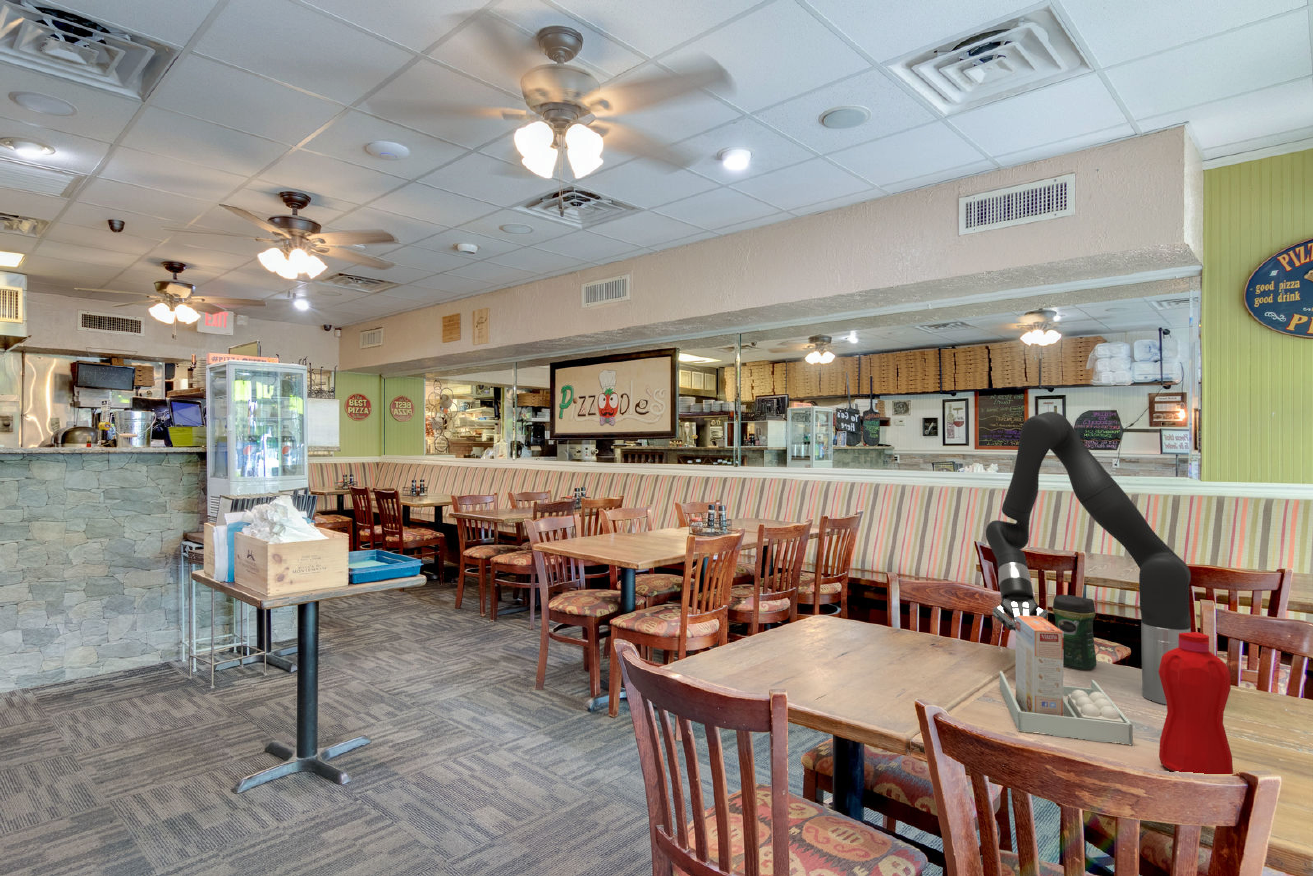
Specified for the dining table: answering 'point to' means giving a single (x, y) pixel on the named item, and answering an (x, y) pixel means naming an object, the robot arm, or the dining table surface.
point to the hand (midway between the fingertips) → (1025, 644)
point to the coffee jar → (1076, 630)
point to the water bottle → (1195, 708)
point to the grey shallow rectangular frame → (1068, 719)
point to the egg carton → (1093, 706)
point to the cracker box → (1039, 666)
